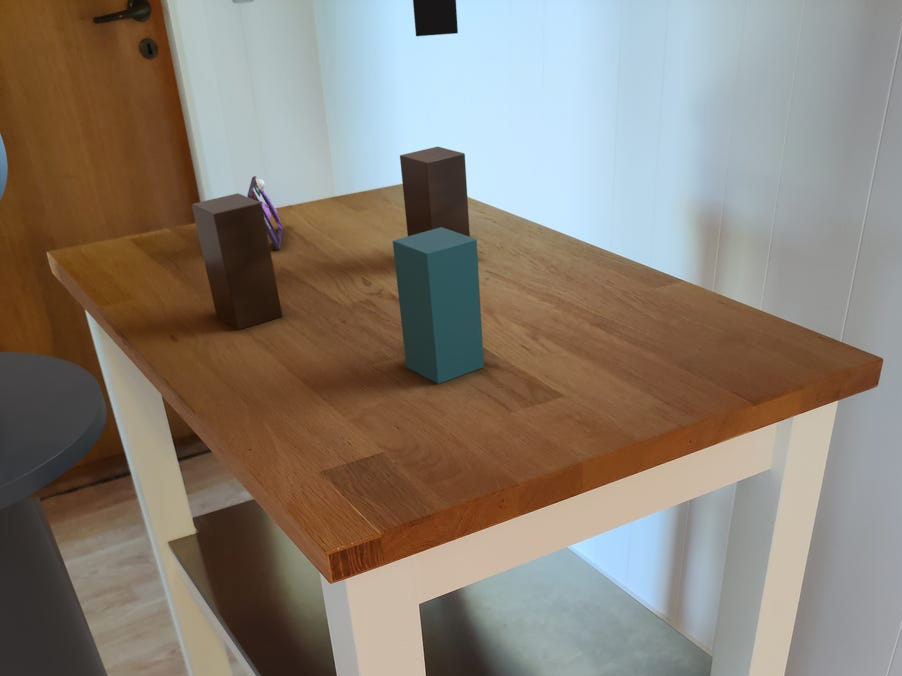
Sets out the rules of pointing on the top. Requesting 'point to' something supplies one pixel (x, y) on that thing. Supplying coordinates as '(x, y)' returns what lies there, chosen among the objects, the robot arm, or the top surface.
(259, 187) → the purple open frame
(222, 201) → the walnut block front
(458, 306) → the teal block
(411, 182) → the walnut block back
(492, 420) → the top surface
